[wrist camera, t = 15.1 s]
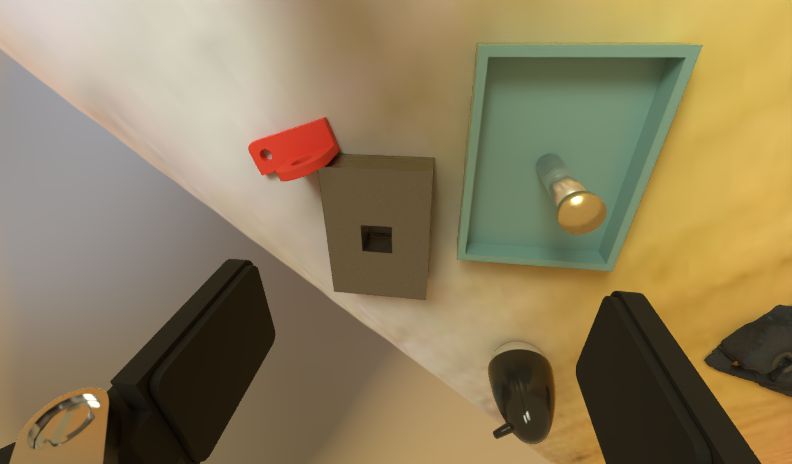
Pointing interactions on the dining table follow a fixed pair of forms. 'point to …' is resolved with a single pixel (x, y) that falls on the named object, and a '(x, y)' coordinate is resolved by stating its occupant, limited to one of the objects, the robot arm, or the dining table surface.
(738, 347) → the dark slate chunk
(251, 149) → the bracket
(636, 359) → the robot arm
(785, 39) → the dining table surface
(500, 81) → the tray
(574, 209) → the pin
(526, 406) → the pump dispenser
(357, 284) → the grey-brown socket block
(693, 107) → the dining table surface
